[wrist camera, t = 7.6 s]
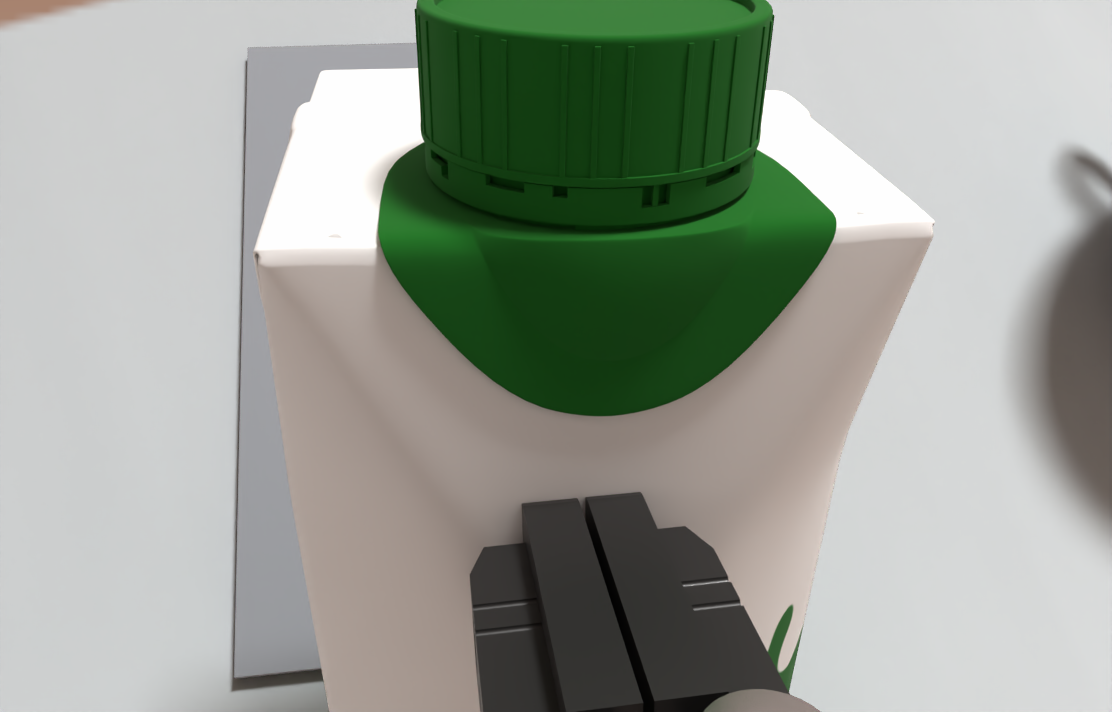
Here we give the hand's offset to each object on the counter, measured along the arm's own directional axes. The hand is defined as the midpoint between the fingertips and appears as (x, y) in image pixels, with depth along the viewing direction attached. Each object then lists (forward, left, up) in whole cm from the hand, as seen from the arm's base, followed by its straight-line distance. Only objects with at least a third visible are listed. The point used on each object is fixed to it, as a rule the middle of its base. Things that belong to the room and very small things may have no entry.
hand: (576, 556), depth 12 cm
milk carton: (0, -4, -14) cm, 14 cm away
